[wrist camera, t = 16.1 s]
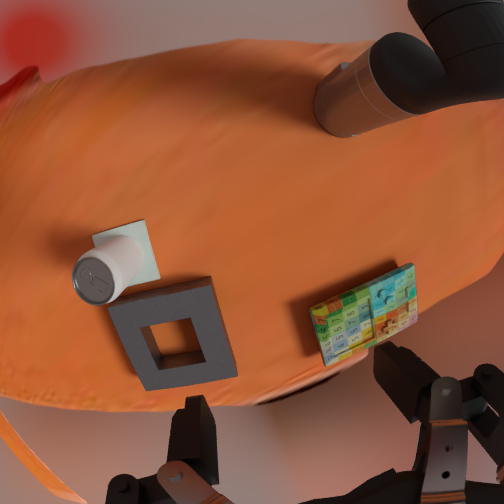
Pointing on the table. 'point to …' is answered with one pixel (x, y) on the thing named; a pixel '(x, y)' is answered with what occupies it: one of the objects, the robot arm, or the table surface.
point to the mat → (141, 236)
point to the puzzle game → (365, 314)
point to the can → (107, 270)
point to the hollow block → (170, 309)
